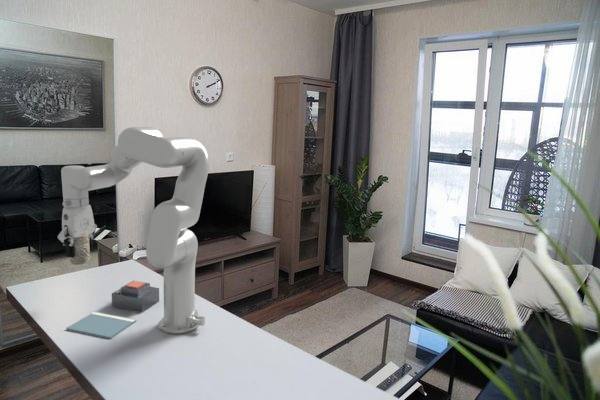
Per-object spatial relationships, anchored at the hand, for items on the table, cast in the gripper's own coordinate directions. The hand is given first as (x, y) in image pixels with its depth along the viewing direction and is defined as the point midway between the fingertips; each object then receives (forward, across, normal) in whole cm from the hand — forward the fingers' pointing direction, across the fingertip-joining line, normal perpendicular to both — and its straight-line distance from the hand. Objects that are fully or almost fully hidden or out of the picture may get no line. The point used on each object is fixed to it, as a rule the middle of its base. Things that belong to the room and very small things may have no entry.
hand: (79, 253), depth 147 cm
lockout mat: (+19, -11, -17) cm, 28 cm away
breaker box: (+19, +6, -17) cm, 26 cm away
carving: (+4, 0, 0) cm, 4 cm away
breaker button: (+13, +6, -17) cm, 23 cm away
